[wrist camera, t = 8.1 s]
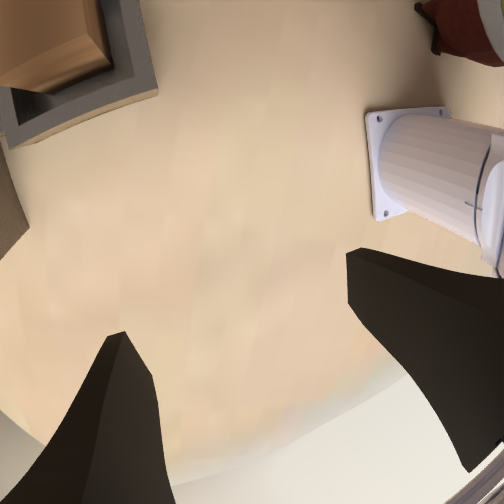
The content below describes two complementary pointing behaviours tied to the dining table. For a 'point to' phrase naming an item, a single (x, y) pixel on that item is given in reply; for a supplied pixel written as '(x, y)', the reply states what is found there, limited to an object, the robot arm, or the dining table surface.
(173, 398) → the dining table surface
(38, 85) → the brown rectangular block
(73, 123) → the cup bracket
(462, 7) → the mate gourd
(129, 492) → the robot arm
